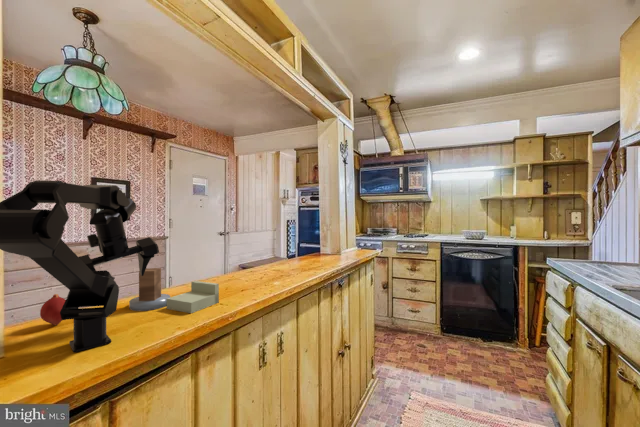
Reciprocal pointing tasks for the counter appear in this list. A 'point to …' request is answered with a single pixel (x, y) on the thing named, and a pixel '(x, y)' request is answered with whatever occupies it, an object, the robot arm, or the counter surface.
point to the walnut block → (150, 284)
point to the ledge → (195, 297)
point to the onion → (52, 310)
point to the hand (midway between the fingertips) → (123, 281)
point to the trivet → (148, 303)
